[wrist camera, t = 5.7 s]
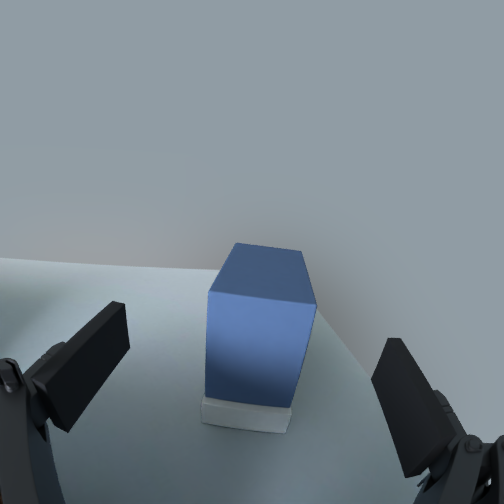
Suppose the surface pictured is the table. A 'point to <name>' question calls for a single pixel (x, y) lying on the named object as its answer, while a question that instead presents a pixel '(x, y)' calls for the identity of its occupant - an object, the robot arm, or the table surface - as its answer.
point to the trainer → (256, 338)
